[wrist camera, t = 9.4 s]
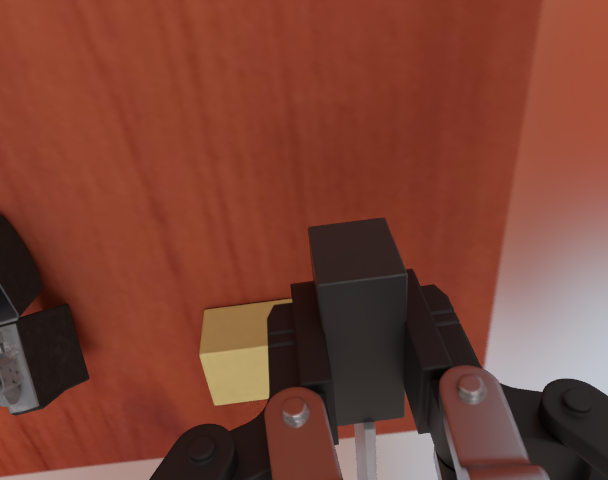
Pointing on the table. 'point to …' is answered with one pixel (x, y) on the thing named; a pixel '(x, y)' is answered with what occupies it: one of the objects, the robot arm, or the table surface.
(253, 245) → the table surface
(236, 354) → the butter
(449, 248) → the table surface
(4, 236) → the lighter
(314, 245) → the knife
